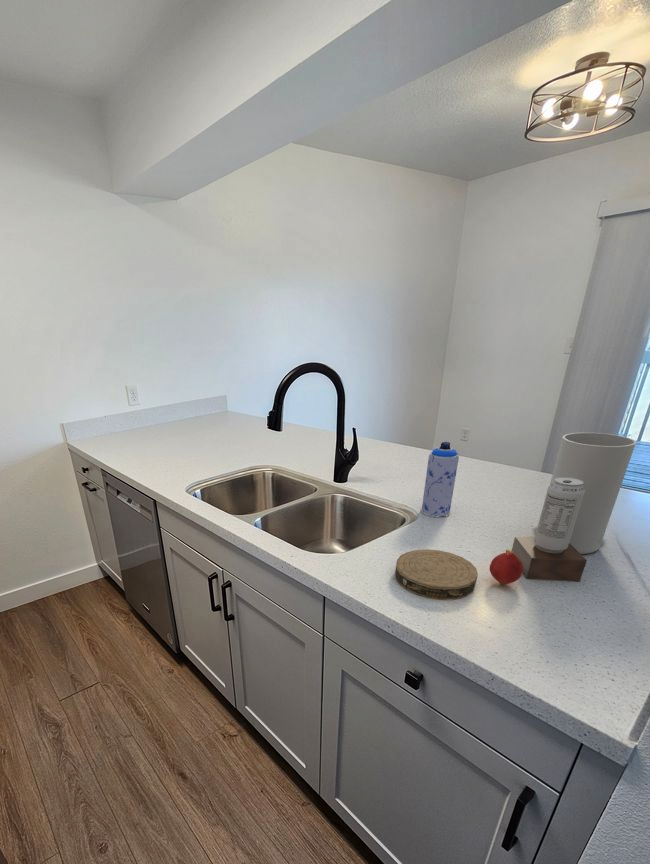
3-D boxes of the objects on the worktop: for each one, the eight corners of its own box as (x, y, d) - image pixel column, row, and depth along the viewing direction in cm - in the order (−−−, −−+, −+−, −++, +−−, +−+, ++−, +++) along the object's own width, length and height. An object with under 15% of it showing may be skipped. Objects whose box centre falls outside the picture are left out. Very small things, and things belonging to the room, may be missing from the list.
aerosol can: (432, 504, 129) (441, 437, 120) (456, 512, 123) (468, 442, 114) (414, 511, 126) (423, 442, 117) (439, 519, 120) (450, 448, 111)
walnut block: (558, 558, 98) (564, 538, 96) (580, 581, 89) (587, 560, 87) (510, 556, 100) (514, 536, 98) (526, 578, 91) (531, 558, 89)
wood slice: (430, 554, 103) (432, 543, 101) (492, 585, 90) (495, 572, 88) (379, 573, 96) (380, 561, 95) (437, 608, 84) (439, 596, 82)
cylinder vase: (583, 560, 96) (619, 450, 85) (525, 541, 106) (551, 439, 95) (608, 544, 102) (646, 439, 91) (551, 527, 112) (579, 429, 100)
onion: (505, 574, 93) (513, 541, 89) (525, 589, 88) (535, 554, 84) (480, 578, 92) (487, 545, 89) (499, 593, 87) (507, 558, 84)
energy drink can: (572, 549, 91) (593, 481, 85) (557, 557, 89) (578, 488, 82) (542, 539, 96) (559, 474, 89) (526, 546, 93) (544, 480, 87)
